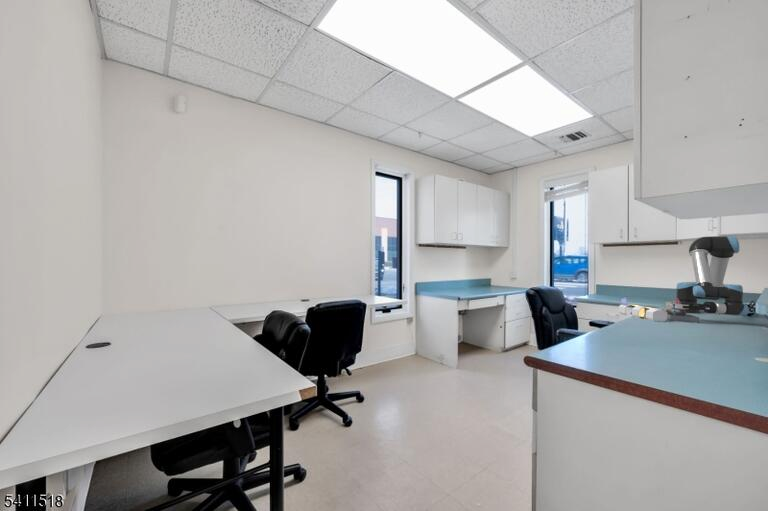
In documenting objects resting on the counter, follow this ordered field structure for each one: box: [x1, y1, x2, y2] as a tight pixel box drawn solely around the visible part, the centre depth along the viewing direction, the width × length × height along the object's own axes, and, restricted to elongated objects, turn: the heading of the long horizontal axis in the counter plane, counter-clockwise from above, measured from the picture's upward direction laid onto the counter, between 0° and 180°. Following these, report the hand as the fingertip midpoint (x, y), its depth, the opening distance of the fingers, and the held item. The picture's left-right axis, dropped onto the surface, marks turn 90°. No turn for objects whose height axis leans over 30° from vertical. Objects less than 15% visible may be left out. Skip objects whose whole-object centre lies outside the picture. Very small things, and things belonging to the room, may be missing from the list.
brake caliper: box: [661, 298, 687, 316], centre depth 206 cm, size 11×11×12 cm
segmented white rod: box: [618, 296, 667, 322], centre depth 210 cm, size 25×10×13 cm, turn 6°
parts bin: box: [667, 313, 700, 324], centre depth 205 cm, size 15×16×4 cm
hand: (671, 305), depth 206 cm, fingers closed on brake caliper, 11 cm apart
